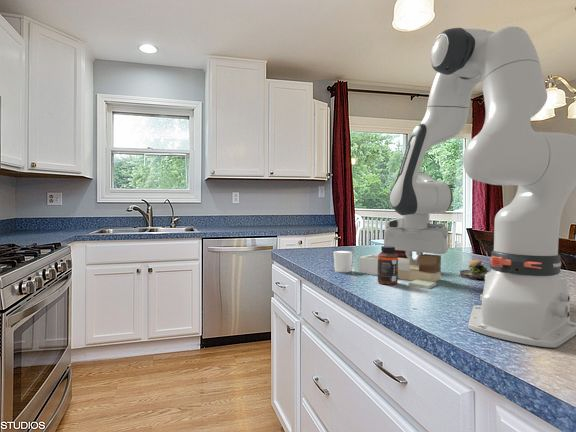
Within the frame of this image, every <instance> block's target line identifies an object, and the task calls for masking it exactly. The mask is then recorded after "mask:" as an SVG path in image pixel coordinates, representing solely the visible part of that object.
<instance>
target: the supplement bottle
mask: <svg viewBox="0 0 576 432" xmlns="http://www.w3.org/2000/svg"><path fill="white" fill-rule="evenodd" d="M380 251H381V252H379V253H378V254H377V255H378V275H377V283H379V284H380V285H387V286H389V285H390V286H391V285H392V286H394V285H397V284H398V280H399V279H398V255H397V254H396V253H395V247H394V246H384V245H382V246H381V248H380Z"/></svg>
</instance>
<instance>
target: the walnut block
mask: <svg viewBox="0 0 576 432" xmlns="http://www.w3.org/2000/svg"><path fill="white" fill-rule="evenodd" d="M441 264H442V254H432V253H423V255H419V271H422V272H429V273H437V272H440V271H442V269H441Z"/></svg>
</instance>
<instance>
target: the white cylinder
mask: <svg viewBox="0 0 576 432" xmlns="http://www.w3.org/2000/svg"><path fill="white" fill-rule="evenodd" d="M332 252H333V262H334V263H333V265H334V271H335V272H337V273H351V270H352V262H353V251H350V250H336V251H332Z"/></svg>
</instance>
